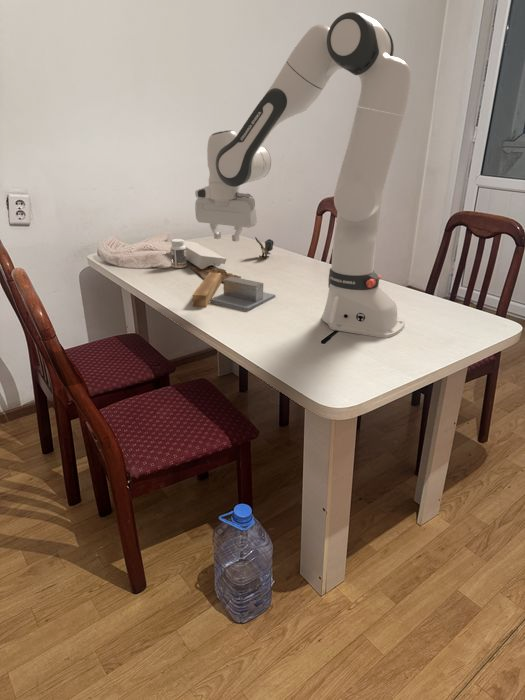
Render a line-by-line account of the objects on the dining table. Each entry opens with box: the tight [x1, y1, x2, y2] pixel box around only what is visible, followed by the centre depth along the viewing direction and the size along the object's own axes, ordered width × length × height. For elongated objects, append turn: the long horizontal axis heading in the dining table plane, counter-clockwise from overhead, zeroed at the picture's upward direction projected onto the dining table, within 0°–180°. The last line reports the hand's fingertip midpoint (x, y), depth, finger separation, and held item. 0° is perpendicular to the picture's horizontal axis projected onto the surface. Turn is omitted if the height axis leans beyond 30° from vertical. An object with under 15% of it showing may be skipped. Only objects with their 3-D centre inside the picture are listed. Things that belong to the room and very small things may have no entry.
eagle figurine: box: [254, 237, 275, 260], centre depth 201 cm, size 8×7×9 cm
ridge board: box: [209, 276, 276, 312], centre depth 156 cm, size 14×15×6 cm
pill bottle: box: [170, 238, 188, 269], centre depth 189 cm, size 6×6×10 cm
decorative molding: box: [184, 240, 227, 269], centre depth 199 cm, size 34×5×10 cm
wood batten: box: [192, 272, 222, 308], centre depth 161 cm, size 4×24×4 cm, turn 173°
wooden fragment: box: [191, 266, 242, 283], centre depth 180 cm, size 26×11×1 cm, turn 38°
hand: (226, 239), depth 152 cm, fingers open, 5 cm apart
